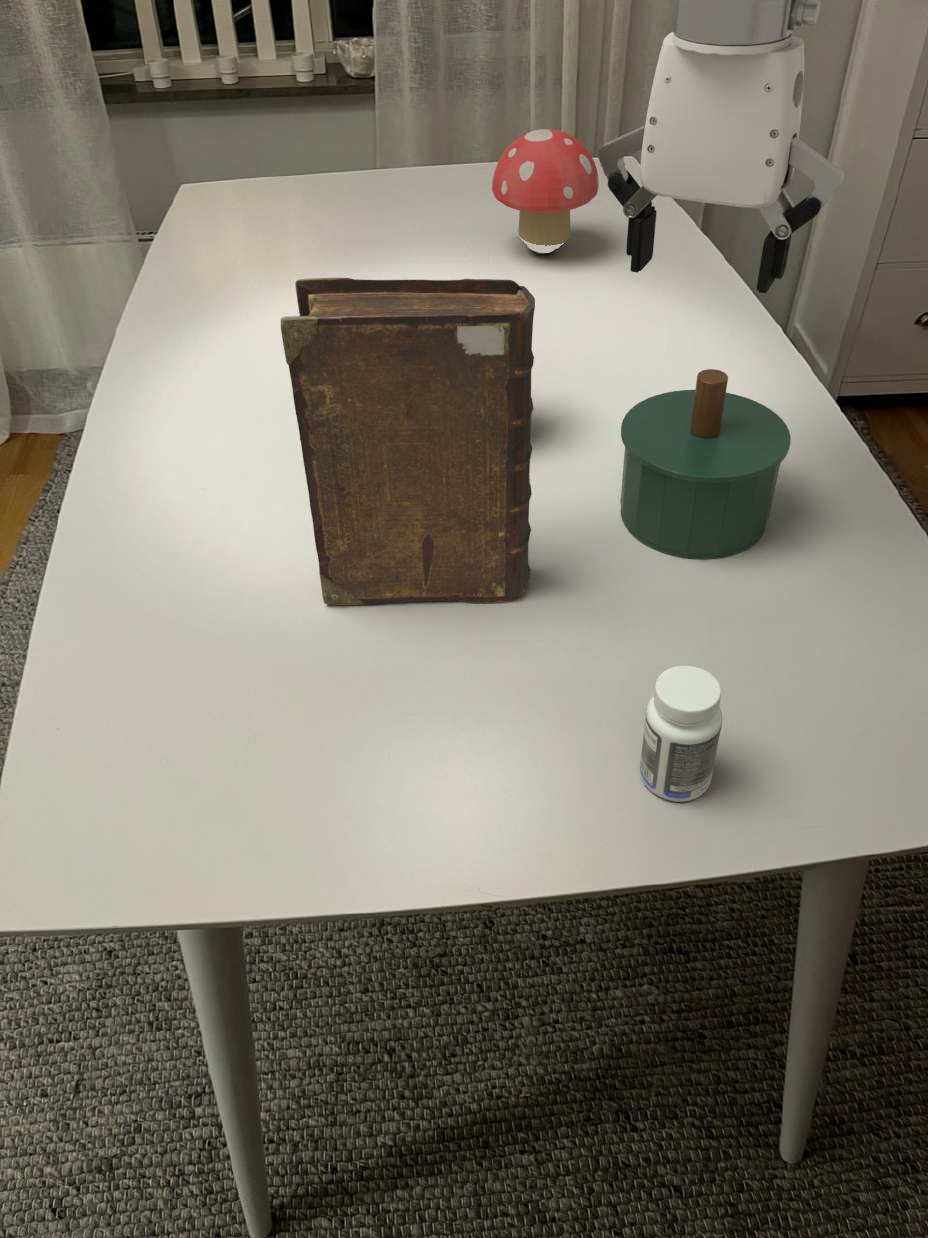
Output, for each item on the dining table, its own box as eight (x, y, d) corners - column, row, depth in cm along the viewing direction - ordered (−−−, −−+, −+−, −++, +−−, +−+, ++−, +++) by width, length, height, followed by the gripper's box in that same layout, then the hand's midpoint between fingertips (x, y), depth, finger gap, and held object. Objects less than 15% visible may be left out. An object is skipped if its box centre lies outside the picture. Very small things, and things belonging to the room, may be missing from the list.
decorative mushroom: (479, 241, 137) (476, 122, 127) (572, 227, 140) (576, 109, 130) (512, 280, 127) (512, 154, 117) (611, 264, 130) (619, 139, 120)
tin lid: (803, 418, 87) (818, 352, 83) (766, 505, 78) (780, 436, 74) (649, 388, 91) (655, 325, 87) (597, 467, 82) (601, 400, 78)
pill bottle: (721, 766, 68) (740, 677, 63) (693, 814, 65) (710, 726, 60) (656, 738, 70) (668, 650, 65) (626, 784, 67) (636, 696, 62)
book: (533, 565, 85) (538, 275, 68) (526, 621, 80) (529, 322, 63) (338, 554, 87) (296, 270, 70) (319, 609, 82) (269, 315, 65)
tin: (780, 492, 92) (797, 414, 86) (746, 574, 83) (762, 493, 78) (646, 462, 96) (653, 386, 90) (600, 537, 87) (606, 458, 82)
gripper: (885, 12, 65) (830, 274, 76) (626, -4, 71) (611, 241, 82) (861, 39, 60) (806, 315, 71) (586, 20, 66) (576, 276, 77)
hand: (702, 275), depth 77 cm, fingers open, 9 cm apart
